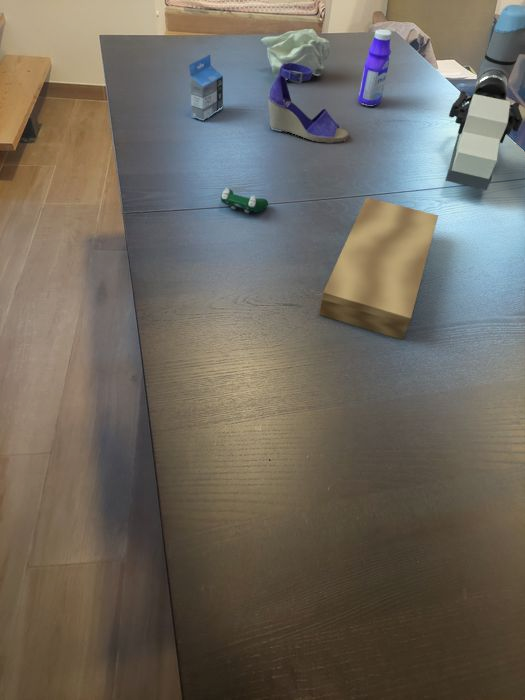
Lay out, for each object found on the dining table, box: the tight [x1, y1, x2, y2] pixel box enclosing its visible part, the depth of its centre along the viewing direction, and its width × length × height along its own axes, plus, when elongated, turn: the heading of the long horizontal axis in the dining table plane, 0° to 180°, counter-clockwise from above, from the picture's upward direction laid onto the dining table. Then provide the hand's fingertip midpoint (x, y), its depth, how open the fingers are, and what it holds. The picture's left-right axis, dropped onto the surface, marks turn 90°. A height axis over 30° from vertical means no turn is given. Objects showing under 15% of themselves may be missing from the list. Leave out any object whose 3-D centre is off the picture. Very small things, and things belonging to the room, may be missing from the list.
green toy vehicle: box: [220, 187, 269, 214], centre depth 101 cm, size 9×4×6 cm
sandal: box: [268, 63, 349, 144], centre depth 120 cm, size 8×20×15 cm, turn 71°
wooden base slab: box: [318, 196, 439, 341], centre depth 90 cm, size 14×30×5 cm, turn 159°
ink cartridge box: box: [188, 54, 224, 119], centre depth 125 cm, size 9×4×12 cm, turn 150°
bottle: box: [357, 28, 393, 105], centre depth 133 cm, size 7×6×17 cm
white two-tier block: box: [445, 94, 511, 191], centre depth 110 cm, size 8×22×10 cm, turn 159°
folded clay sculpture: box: [260, 28, 332, 79], centre depth 144 cm, size 18×13×16 cm
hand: (482, 132), depth 109 cm, fingers closed on white two-tier block, 8 cm apart
